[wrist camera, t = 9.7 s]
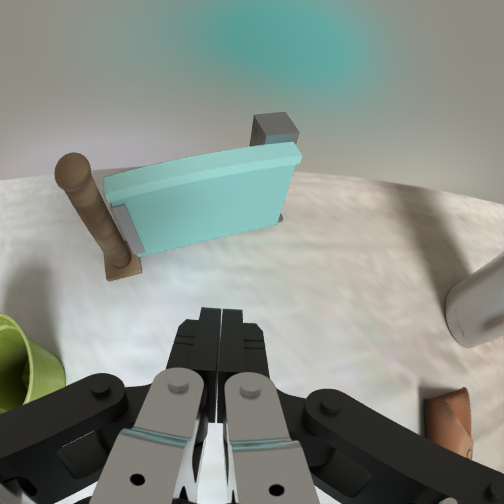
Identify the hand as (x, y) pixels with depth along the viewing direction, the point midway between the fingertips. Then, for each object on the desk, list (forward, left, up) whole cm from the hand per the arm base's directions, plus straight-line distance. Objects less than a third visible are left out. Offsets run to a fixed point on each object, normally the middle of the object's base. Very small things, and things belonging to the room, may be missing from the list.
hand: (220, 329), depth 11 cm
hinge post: (+7, -14, -17) cm, 23 cm away
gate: (-2, -13, -16) cm, 21 cm away
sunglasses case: (-20, +22, -18) cm, 35 cm away
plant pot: (+19, -3, -17) cm, 26 cm away
